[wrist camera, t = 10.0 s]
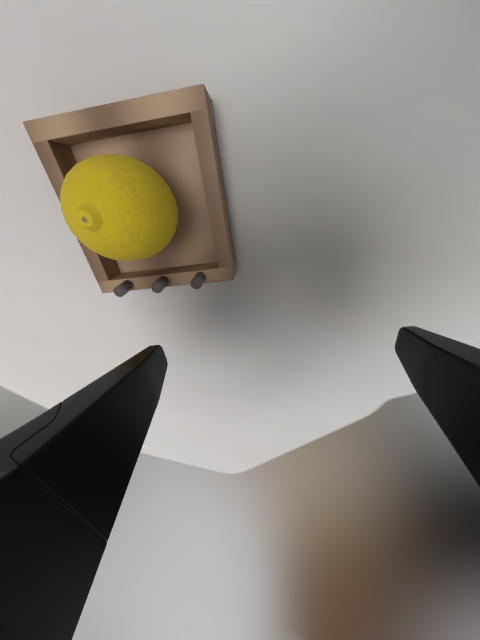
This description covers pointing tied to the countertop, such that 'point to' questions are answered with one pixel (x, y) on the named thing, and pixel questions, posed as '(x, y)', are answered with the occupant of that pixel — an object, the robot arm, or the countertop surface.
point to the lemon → (119, 207)
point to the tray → (170, 163)
